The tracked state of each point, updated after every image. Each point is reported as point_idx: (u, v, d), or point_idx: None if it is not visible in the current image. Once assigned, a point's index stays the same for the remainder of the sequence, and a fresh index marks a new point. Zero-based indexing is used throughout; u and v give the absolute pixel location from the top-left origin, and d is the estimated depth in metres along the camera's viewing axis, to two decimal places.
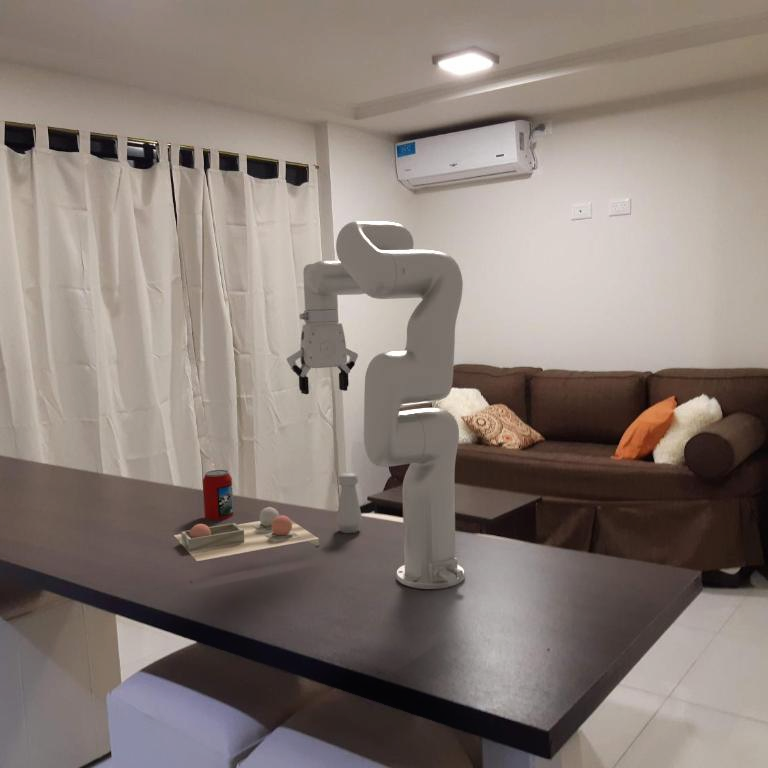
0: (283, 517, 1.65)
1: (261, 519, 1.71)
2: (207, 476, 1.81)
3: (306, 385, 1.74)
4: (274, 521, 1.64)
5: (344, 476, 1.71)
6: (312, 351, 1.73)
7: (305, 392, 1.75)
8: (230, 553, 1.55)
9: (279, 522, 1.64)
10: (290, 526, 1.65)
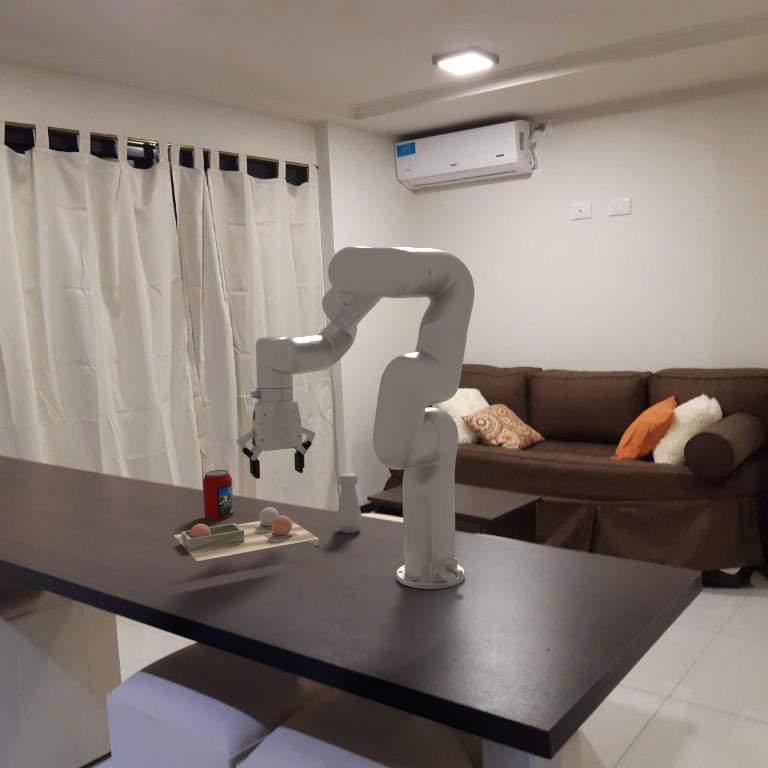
0: (283, 517, 1.65)
1: (261, 519, 1.71)
2: (207, 476, 1.81)
3: (257, 469, 1.61)
4: (274, 521, 1.64)
5: (344, 476, 1.71)
6: (264, 433, 1.59)
7: (256, 476, 1.61)
8: (230, 553, 1.55)
9: (279, 522, 1.64)
10: (290, 526, 1.65)
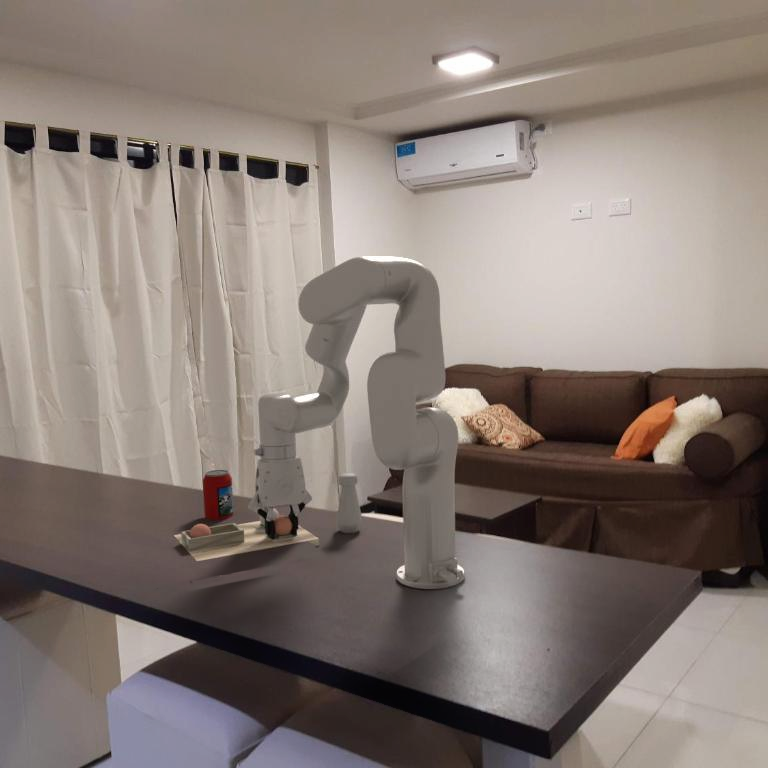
0: (283, 517, 1.65)
1: (261, 519, 1.71)
2: (207, 476, 1.81)
3: (272, 530, 1.63)
4: (274, 521, 1.64)
5: (344, 476, 1.71)
6: (267, 490, 1.61)
7: (271, 537, 1.63)
8: (230, 553, 1.55)
9: (279, 522, 1.64)
10: (290, 526, 1.65)
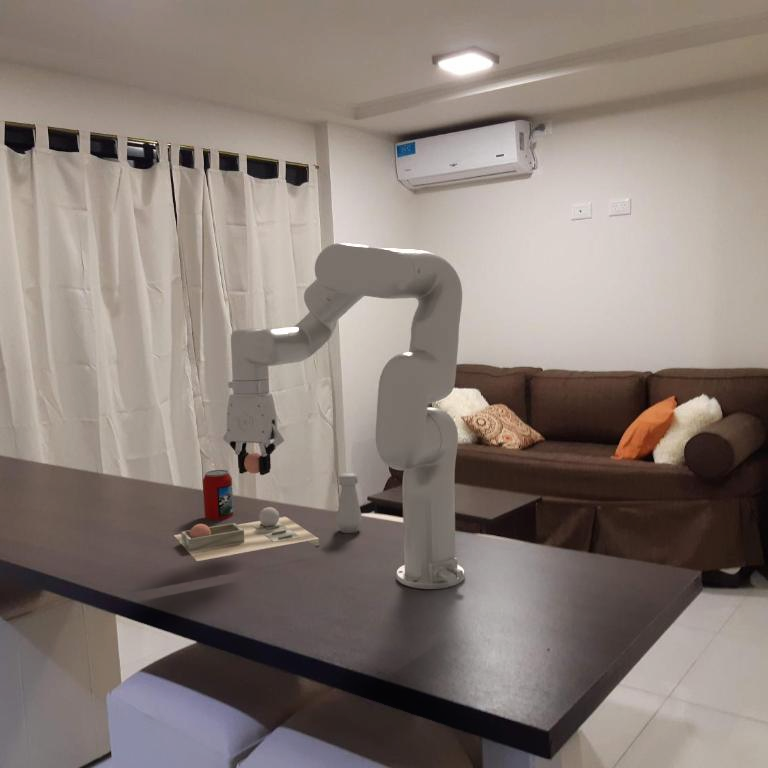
0: (251, 454, 1.62)
1: (261, 519, 1.71)
2: (207, 476, 1.81)
3: (239, 464, 1.63)
4: None
5: (344, 476, 1.71)
6: (230, 423, 1.61)
7: None
8: (230, 553, 1.55)
9: (246, 458, 1.62)
10: (255, 464, 1.61)
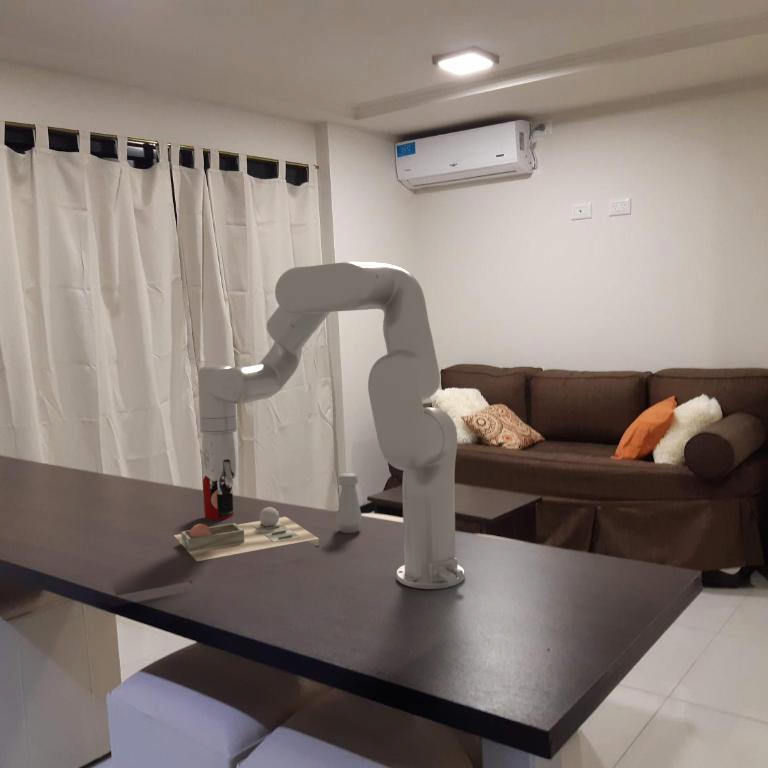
0: (216, 490, 1.63)
1: (261, 519, 1.71)
2: None
3: None
4: None
5: (344, 476, 1.71)
6: (202, 457, 1.64)
7: None
8: (230, 553, 1.55)
9: None
10: (215, 501, 1.61)
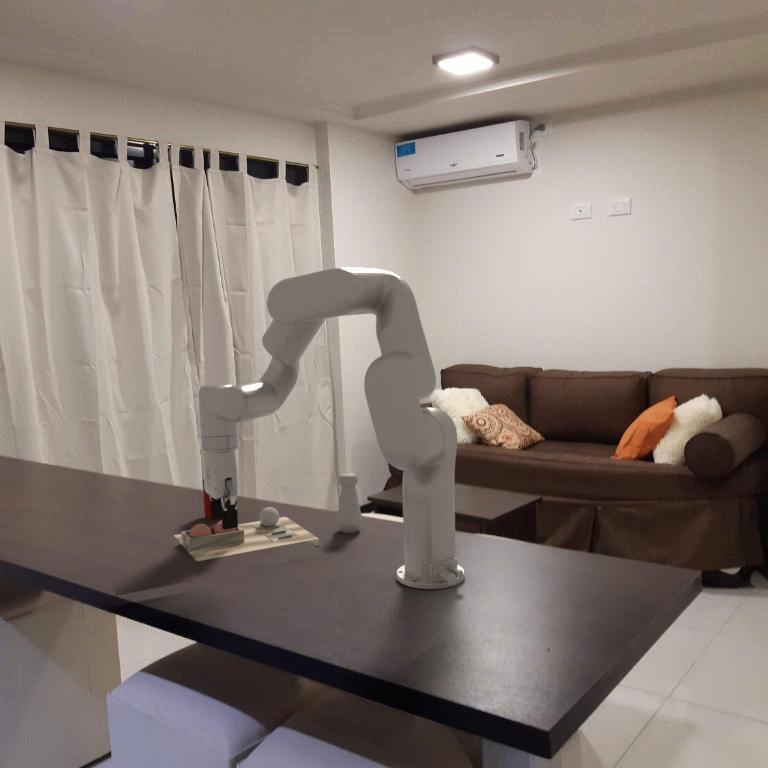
0: (219, 522, 1.63)
1: (261, 519, 1.71)
2: None
3: None
4: None
5: (344, 476, 1.71)
6: (204, 475, 1.65)
7: None
8: (230, 553, 1.55)
9: None
10: (218, 533, 1.62)
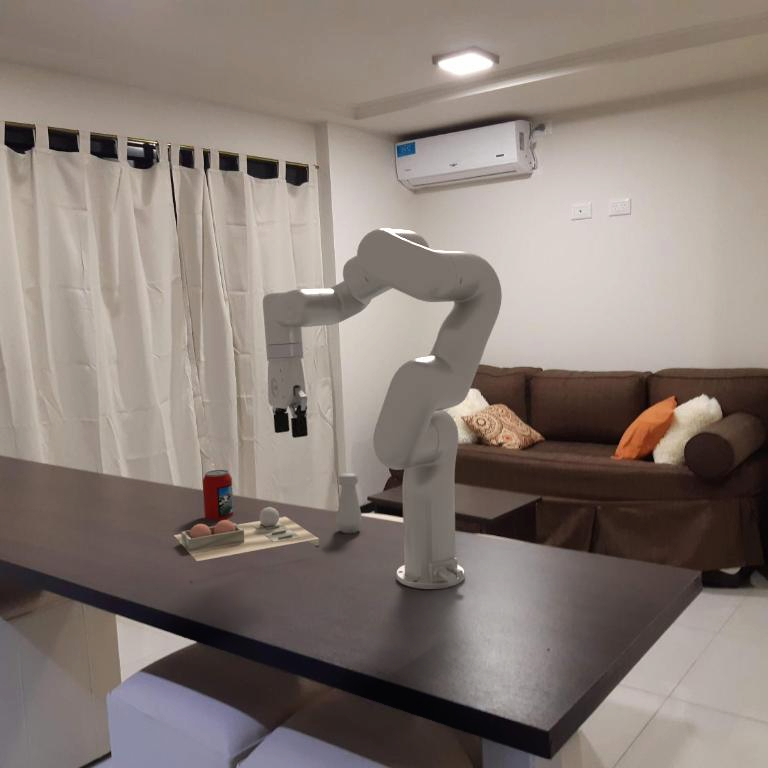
0: (219, 522, 1.63)
1: (261, 519, 1.71)
2: (207, 476, 1.81)
3: None
4: None
5: (344, 476, 1.71)
6: (269, 388, 1.62)
7: None
8: (230, 553, 1.55)
9: (216, 524, 1.64)
10: (218, 533, 1.62)
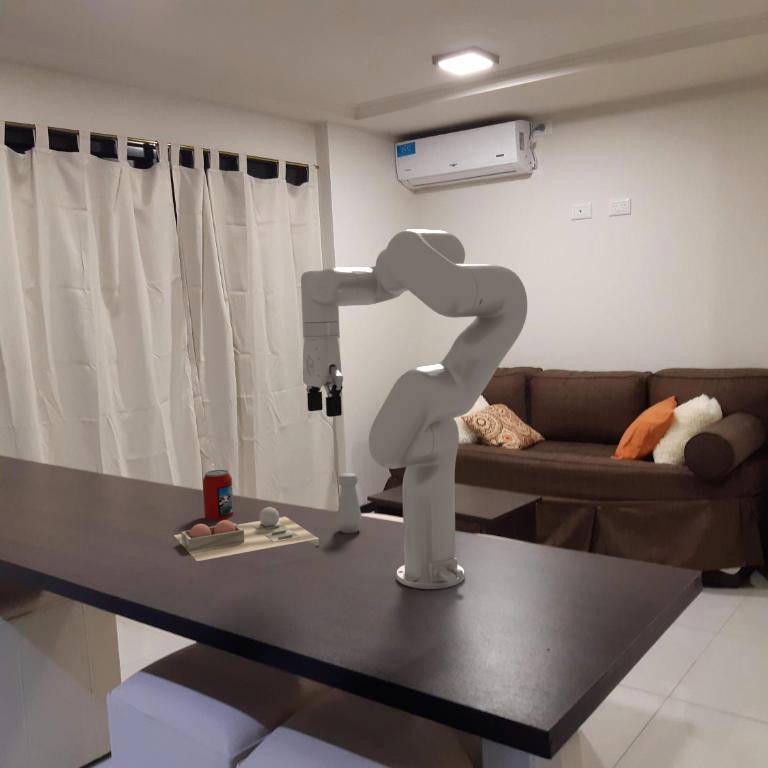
0: (219, 522, 1.63)
1: (261, 519, 1.71)
2: (207, 476, 1.81)
3: (308, 401, 1.64)
4: None
5: (344, 476, 1.71)
6: (303, 366, 1.61)
7: None
8: (230, 553, 1.55)
9: (216, 524, 1.64)
10: (218, 533, 1.62)
